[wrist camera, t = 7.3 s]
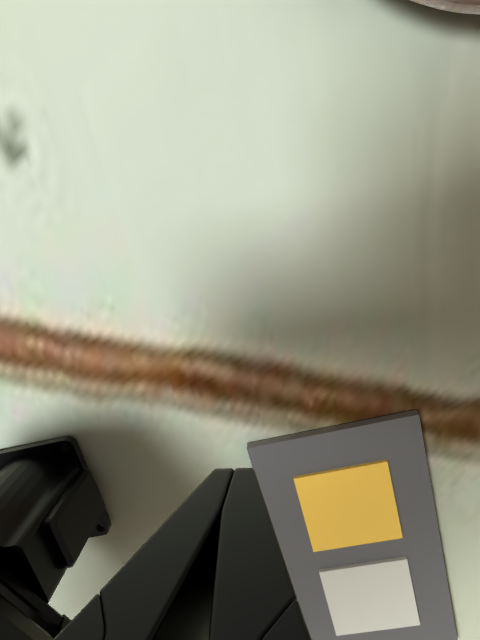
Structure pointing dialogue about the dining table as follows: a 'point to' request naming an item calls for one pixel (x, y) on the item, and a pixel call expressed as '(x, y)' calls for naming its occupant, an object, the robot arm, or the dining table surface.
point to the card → (359, 529)
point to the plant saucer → (453, 5)
